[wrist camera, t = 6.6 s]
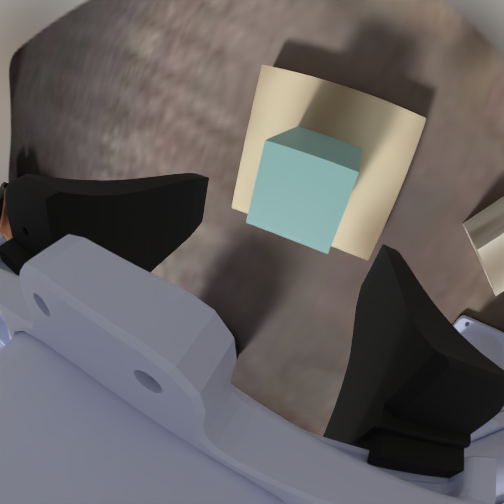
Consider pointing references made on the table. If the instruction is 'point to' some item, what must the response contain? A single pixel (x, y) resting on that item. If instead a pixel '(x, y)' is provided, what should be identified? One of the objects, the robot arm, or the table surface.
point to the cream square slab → (345, 129)
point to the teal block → (304, 186)
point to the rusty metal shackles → (4, 214)
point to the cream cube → (489, 242)
